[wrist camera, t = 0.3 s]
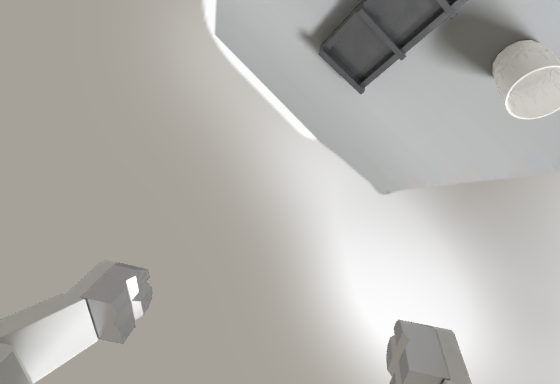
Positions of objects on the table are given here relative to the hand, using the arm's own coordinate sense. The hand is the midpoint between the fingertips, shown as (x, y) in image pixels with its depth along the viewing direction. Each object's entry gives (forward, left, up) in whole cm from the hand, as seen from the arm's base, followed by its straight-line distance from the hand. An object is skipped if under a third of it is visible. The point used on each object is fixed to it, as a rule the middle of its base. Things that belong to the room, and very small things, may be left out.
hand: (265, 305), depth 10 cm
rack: (-2, +10, -50) cm, 52 cm away
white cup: (-8, +29, -51) cm, 59 cm away
